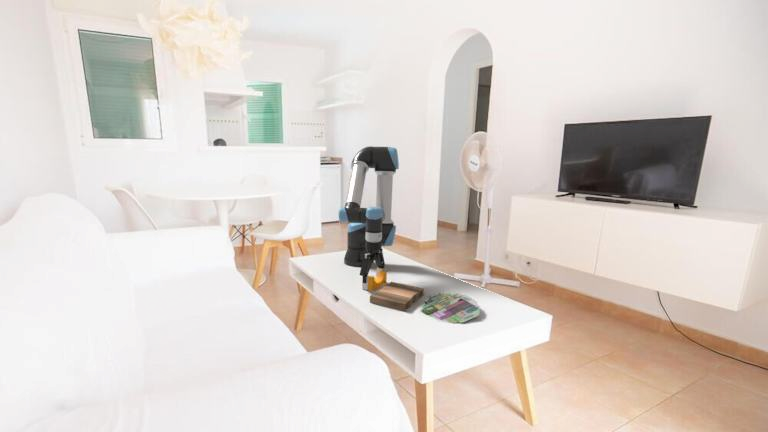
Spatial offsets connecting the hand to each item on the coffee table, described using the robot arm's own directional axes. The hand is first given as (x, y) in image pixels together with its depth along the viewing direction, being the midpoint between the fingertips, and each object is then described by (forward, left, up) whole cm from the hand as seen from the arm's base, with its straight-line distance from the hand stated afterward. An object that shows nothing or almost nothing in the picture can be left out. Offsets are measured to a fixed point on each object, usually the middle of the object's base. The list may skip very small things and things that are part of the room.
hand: (372, 285), depth 175 cm
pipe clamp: (0, +2, -1) cm, 2 cm away
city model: (+8, +40, -1) cm, 41 cm away
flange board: (+8, +17, 0) cm, 19 cm away
